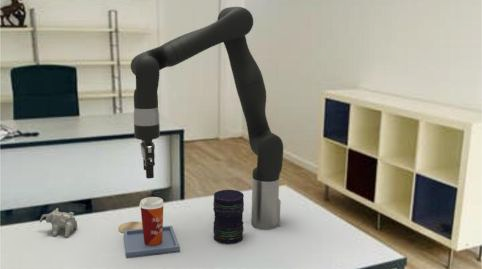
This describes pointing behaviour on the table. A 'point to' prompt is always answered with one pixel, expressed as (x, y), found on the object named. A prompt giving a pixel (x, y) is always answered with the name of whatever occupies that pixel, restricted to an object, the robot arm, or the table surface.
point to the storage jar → (228, 216)
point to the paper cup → (152, 220)
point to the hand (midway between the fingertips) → (148, 173)
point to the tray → (139, 248)
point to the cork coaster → (130, 226)
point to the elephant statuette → (60, 221)
